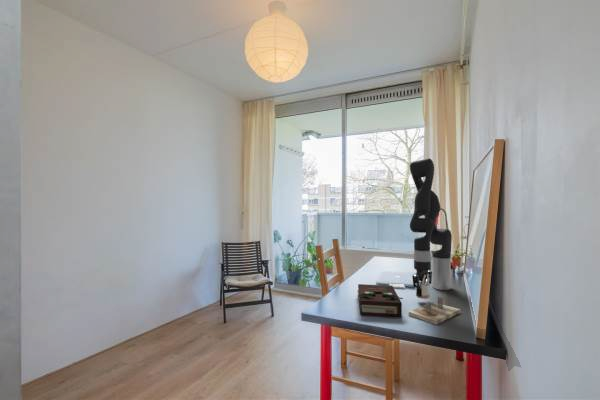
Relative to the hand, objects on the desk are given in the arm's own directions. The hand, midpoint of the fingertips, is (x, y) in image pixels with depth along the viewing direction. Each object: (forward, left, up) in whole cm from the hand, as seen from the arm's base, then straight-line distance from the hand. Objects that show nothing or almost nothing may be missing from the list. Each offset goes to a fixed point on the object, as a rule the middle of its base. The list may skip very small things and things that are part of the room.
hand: (422, 294), depth 138 cm
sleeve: (0, 0, -1) cm, 1 cm away
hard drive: (-15, -24, -5) cm, 29 cm away
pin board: (+9, +11, -4) cm, 15 cm away
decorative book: (+21, -10, -4) cm, 24 cm away
